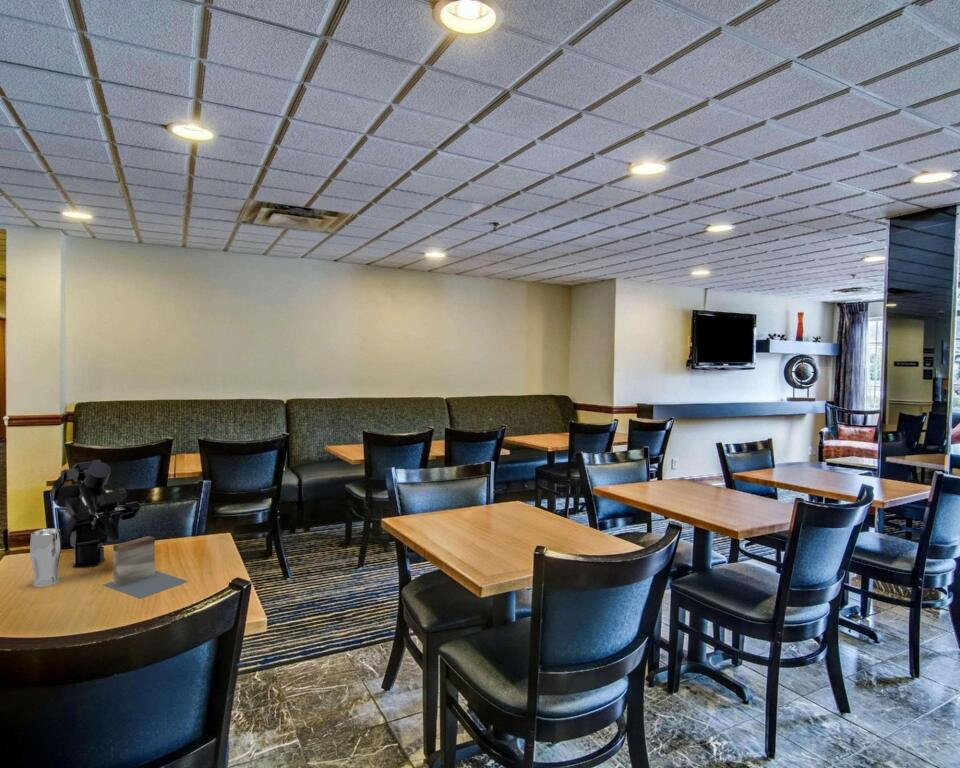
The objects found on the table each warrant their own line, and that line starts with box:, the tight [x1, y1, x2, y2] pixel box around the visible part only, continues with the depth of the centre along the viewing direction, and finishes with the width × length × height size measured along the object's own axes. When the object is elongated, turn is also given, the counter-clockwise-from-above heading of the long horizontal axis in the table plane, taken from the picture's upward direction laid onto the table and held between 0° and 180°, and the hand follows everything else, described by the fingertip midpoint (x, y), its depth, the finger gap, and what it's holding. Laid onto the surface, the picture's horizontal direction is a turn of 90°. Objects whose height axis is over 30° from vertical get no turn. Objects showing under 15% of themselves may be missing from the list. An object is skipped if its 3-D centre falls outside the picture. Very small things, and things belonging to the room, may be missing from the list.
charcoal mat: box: [102, 570, 190, 600], centre depth 162 cm, size 18×14×1 cm
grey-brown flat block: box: [112, 535, 156, 586], centre depth 165 cm, size 3×10×11 cm, turn 151°
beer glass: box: [29, 527, 62, 588], centre depth 161 cm, size 7×7×15 cm
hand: (116, 539), depth 168 cm, fingers closed
